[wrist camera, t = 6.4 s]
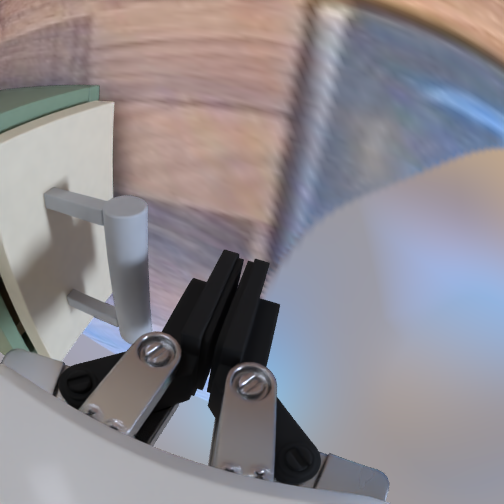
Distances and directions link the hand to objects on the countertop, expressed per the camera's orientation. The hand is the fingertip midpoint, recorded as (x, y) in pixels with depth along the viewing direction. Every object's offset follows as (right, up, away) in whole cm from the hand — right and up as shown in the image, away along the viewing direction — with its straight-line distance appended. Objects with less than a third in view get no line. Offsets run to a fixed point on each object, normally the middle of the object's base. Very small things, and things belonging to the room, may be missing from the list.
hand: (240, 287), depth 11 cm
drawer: (-10, +5, +3) cm, 12 cm away
